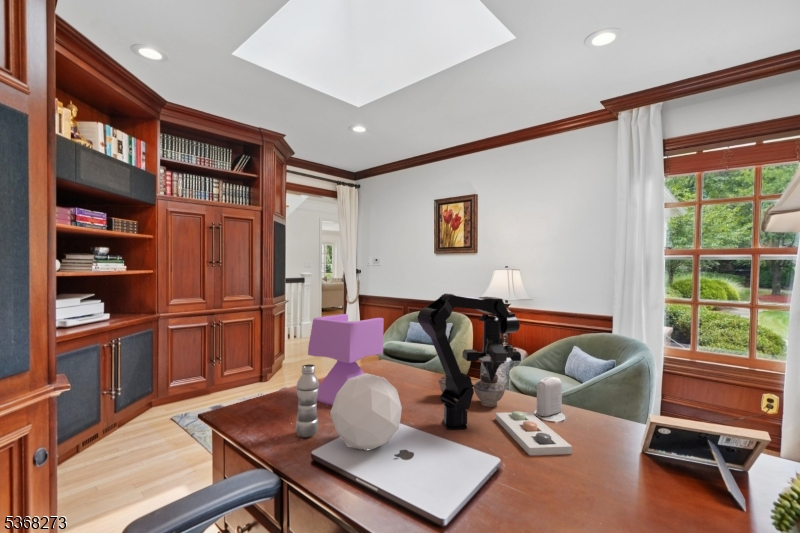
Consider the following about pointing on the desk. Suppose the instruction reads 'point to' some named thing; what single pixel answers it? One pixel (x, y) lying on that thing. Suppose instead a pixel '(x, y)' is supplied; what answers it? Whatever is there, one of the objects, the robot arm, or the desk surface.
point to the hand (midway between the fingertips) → (491, 380)
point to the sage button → (518, 416)
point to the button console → (533, 435)
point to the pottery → (483, 389)
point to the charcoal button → (543, 438)
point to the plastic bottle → (307, 402)
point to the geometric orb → (366, 411)
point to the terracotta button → (529, 426)
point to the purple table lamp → (343, 348)
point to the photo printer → (549, 396)
